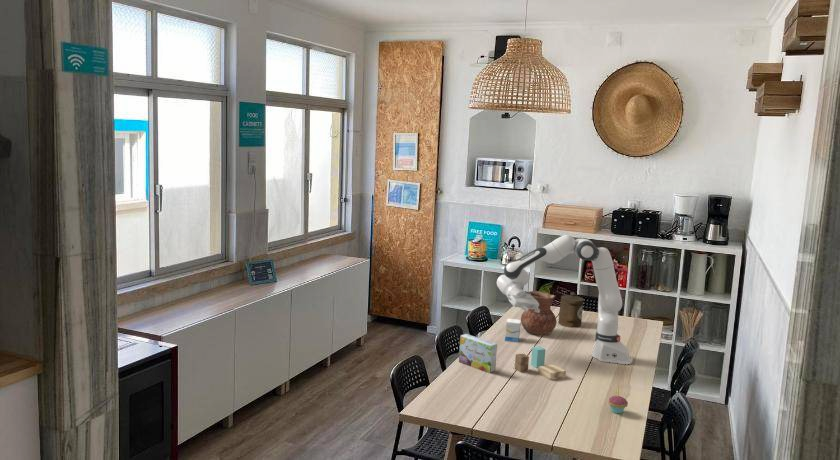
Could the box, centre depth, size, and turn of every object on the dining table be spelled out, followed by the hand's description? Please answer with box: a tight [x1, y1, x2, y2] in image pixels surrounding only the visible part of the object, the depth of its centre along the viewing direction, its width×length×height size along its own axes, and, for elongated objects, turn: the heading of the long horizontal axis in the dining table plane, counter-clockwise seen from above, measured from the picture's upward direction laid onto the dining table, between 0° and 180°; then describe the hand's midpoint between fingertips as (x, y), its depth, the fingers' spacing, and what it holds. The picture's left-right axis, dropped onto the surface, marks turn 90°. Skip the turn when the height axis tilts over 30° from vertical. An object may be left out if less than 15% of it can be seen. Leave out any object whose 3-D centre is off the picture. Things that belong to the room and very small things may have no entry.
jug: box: [520, 290, 557, 336], centre depth 418 cm, size 22×21×25 cm
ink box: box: [504, 318, 522, 343], centre depth 402 cm, size 9×8×12 cm
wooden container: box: [558, 291, 584, 328], centre depth 441 cm, size 15×15×22 cm
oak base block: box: [537, 363, 567, 381], centre depth 345 cm, size 10×10×4 cm
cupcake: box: [608, 386, 629, 414], centre depth 303 cm, size 9×8×12 cm
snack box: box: [458, 333, 498, 374], centre depth 351 cm, size 21×6×15 cm, turn 47°
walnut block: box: [514, 353, 530, 373], centre depth 350 cm, size 5×5×8 cm
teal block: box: [530, 345, 546, 369], centre depth 358 cm, size 5×5×10 cm
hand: (533, 311), depth 363 cm, fingers open, 8 cm apart
